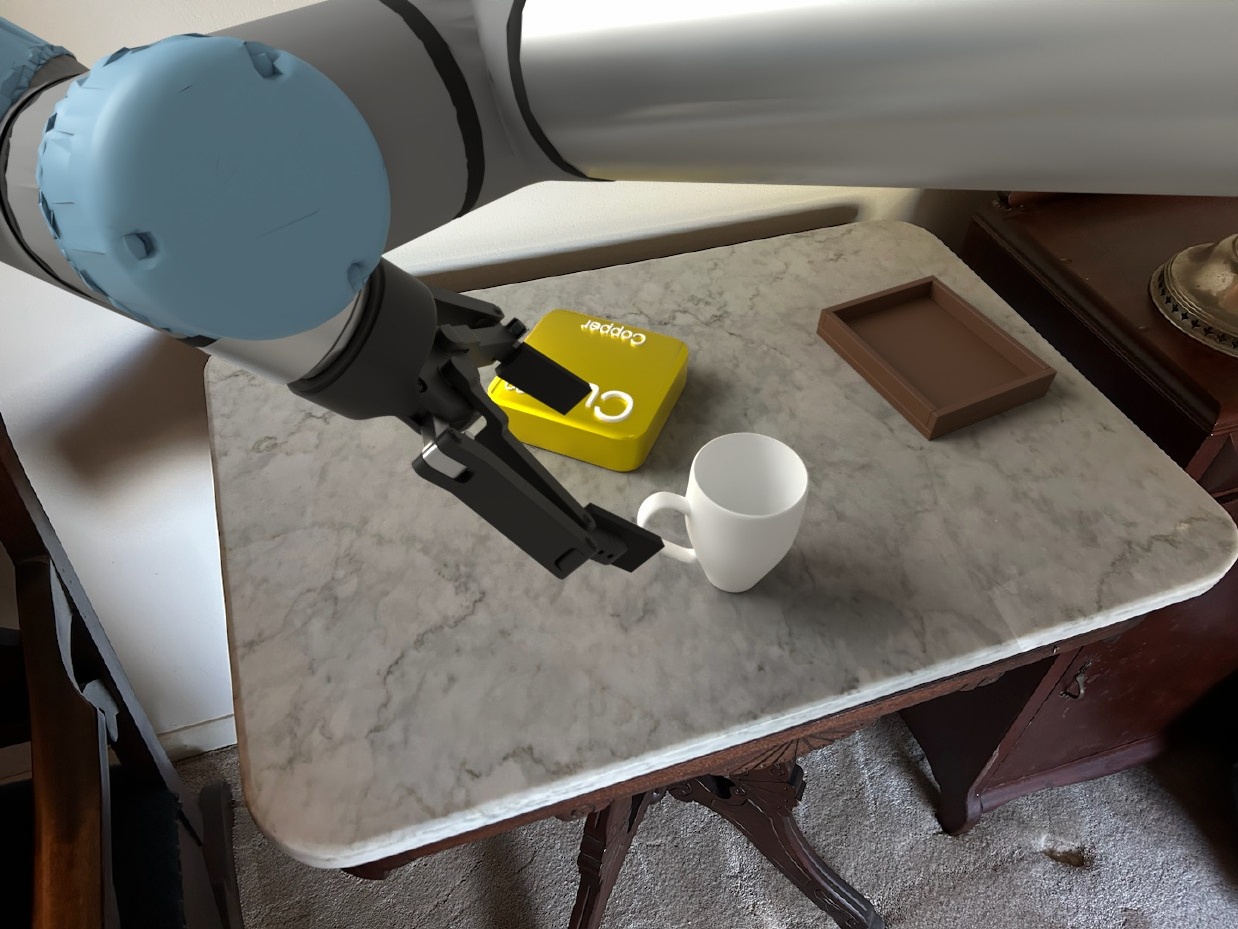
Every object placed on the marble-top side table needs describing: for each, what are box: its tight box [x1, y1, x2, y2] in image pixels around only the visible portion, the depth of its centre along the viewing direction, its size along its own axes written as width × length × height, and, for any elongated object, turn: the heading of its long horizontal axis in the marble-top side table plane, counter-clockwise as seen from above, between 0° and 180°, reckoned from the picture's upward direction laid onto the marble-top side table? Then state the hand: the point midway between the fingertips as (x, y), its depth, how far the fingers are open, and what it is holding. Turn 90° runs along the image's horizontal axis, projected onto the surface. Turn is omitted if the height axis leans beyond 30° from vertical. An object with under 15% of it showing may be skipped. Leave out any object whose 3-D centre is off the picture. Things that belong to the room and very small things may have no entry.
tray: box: [815, 274, 1058, 441], centre depth 84 cm, size 18×15×3 cm
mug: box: [636, 432, 810, 593], centre depth 62 cm, size 12×8×11 cm
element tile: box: [487, 308, 690, 472], centre depth 78 cm, size 15×15×5 cm
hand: (609, 471), depth 54 cm, fingers open, 13 cm apart
